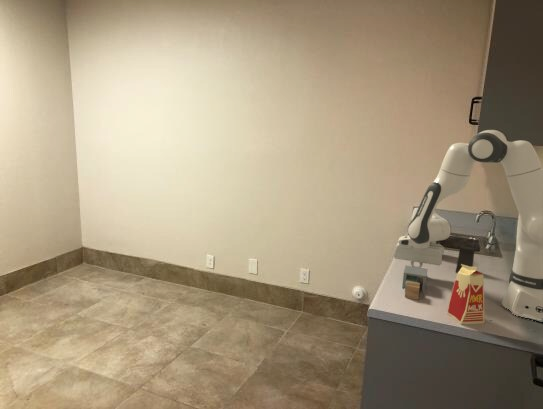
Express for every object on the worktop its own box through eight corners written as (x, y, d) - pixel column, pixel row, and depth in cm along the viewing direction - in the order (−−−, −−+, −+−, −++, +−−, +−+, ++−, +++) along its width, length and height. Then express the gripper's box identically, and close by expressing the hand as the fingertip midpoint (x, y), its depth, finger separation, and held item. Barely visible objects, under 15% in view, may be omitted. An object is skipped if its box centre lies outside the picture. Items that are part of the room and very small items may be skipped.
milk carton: (484, 323, 136) (493, 268, 132) (461, 325, 134) (469, 270, 130) (466, 310, 145) (474, 259, 141) (444, 312, 143) (451, 260, 139)
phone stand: (469, 275, 179) (473, 250, 176) (455, 272, 182) (458, 247, 180) (472, 269, 186) (476, 245, 184) (458, 266, 190) (462, 243, 187)
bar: (407, 277, 176) (408, 268, 175) (417, 278, 174) (418, 270, 173) (404, 292, 159) (405, 283, 159) (415, 294, 158) (416, 285, 157)
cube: (405, 292, 159) (406, 280, 158) (418, 294, 157) (420, 283, 156) (404, 297, 155) (405, 285, 154) (418, 299, 153) (419, 287, 152)
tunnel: (403, 280, 171) (405, 265, 170) (425, 283, 168) (427, 268, 166) (402, 287, 163) (403, 272, 162) (425, 292, 160) (427, 276, 158)
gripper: (444, 243, 174) (440, 272, 177) (396, 236, 181) (393, 264, 184) (444, 247, 168) (440, 277, 171) (395, 240, 175) (392, 269, 178)
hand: (415, 270), depth 178 cm, fingers closed
